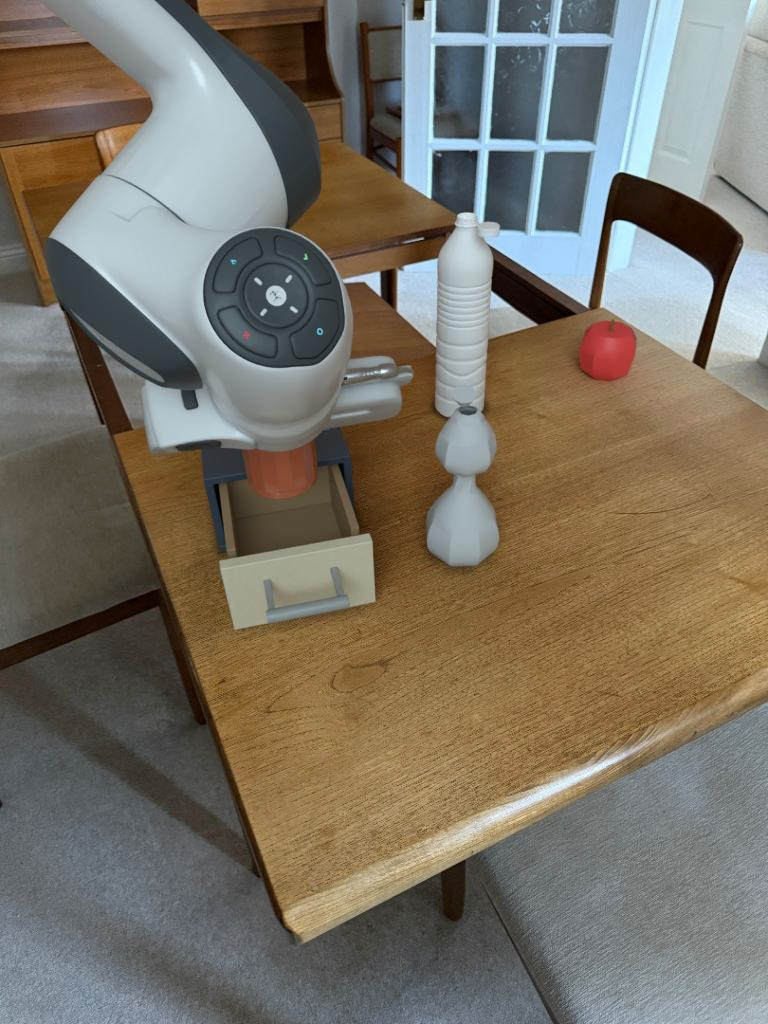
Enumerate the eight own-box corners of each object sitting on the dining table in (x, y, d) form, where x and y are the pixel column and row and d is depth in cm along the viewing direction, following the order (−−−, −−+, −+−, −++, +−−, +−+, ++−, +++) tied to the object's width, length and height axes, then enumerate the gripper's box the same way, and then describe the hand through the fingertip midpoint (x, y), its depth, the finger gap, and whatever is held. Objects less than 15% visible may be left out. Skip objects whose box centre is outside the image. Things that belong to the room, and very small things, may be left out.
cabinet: (355, 528, 80) (350, 455, 74) (220, 552, 78) (203, 479, 72) (328, 444, 93) (322, 376, 87) (210, 463, 90) (195, 394, 84)
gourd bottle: (438, 520, 81) (441, 355, 68) (507, 537, 78) (525, 369, 66) (412, 567, 75) (410, 396, 63) (485, 587, 73) (500, 413, 60)
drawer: (388, 639, 67) (385, 578, 62) (239, 670, 65) (224, 609, 60) (343, 503, 82) (339, 445, 77) (222, 524, 80) (209, 466, 75)
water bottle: (425, 402, 100) (427, 211, 84) (466, 389, 102) (475, 201, 86) (460, 433, 94) (469, 234, 78) (503, 419, 96) (520, 223, 80)
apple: (568, 361, 107) (575, 308, 102) (622, 358, 108) (632, 306, 103) (583, 388, 101) (591, 335, 96) (640, 385, 102) (652, 331, 96)
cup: (252, 504, 65) (235, 417, 59) (245, 463, 70) (229, 379, 64) (323, 492, 66) (314, 405, 60) (311, 452, 71) (302, 368, 65)
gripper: (410, 322, 54) (382, 377, 67) (119, 362, 50) (152, 412, 64) (427, 406, 53) (396, 445, 67) (135, 452, 50) (164, 483, 63)
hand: (275, 429), depth 65 cm, fingers closed on cup, 6 cm apart
